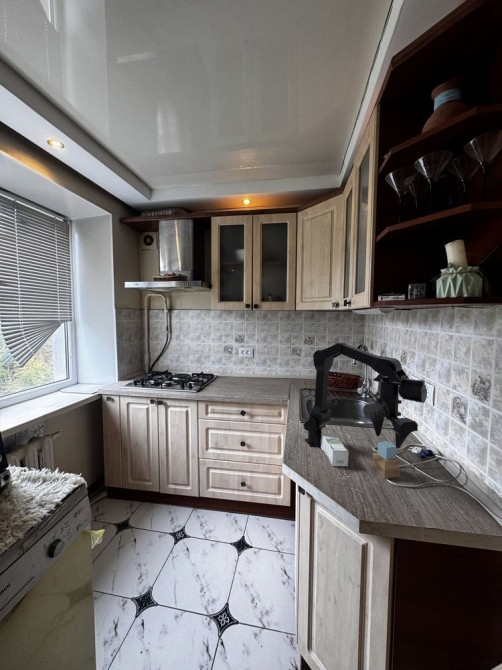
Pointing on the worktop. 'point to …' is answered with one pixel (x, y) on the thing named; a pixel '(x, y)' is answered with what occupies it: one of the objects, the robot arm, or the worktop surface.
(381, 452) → the blue block
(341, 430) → the worktop surface
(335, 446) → the syrup box
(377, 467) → the tower base
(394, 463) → the tower mid
